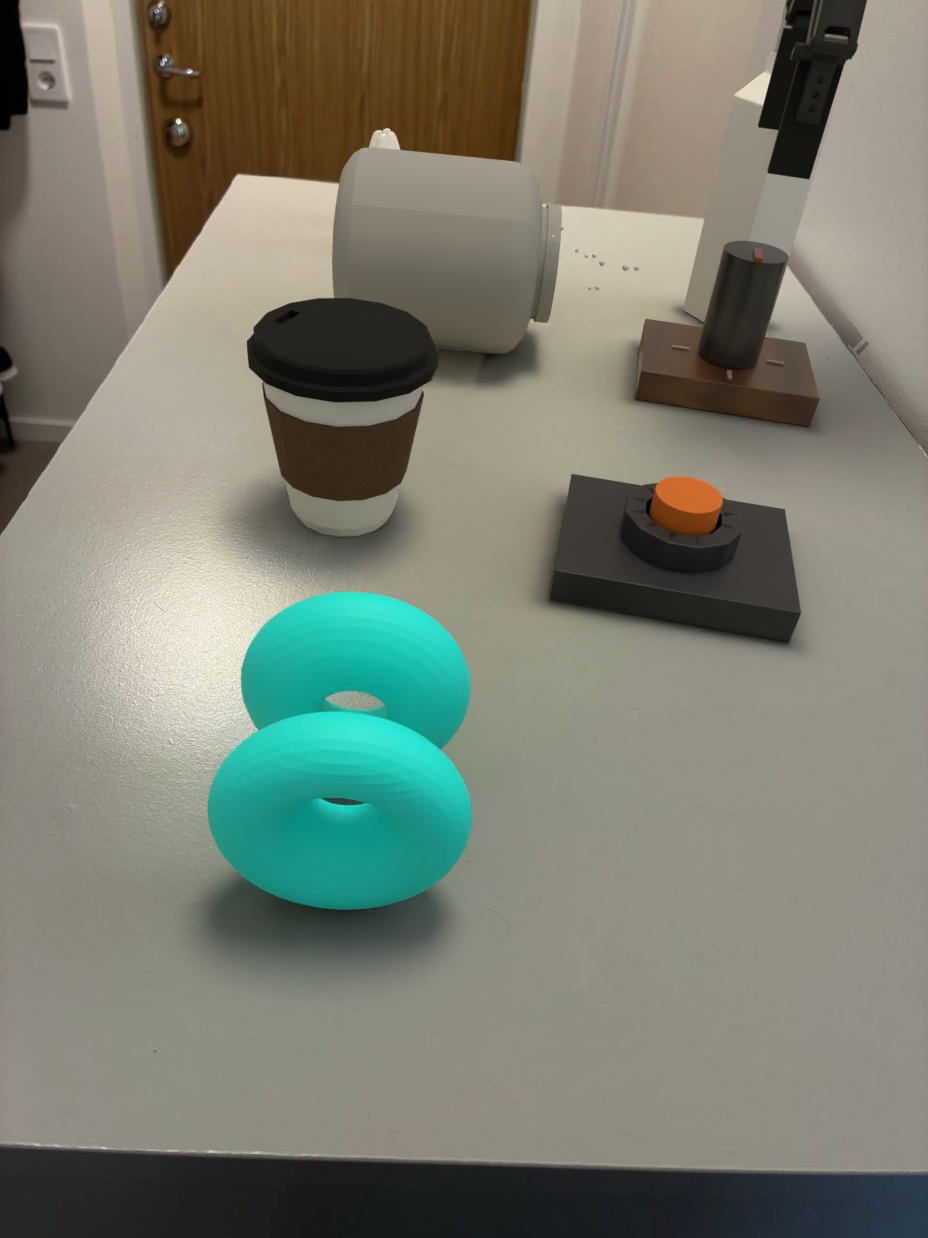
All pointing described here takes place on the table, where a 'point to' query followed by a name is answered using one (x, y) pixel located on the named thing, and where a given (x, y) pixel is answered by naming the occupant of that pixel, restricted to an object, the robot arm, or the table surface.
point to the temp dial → (742, 303)
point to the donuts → (346, 756)
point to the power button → (686, 505)
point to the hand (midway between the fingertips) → (781, 150)
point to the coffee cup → (342, 405)
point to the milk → (746, 193)
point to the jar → (448, 244)
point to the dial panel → (725, 376)
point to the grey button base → (676, 562)
